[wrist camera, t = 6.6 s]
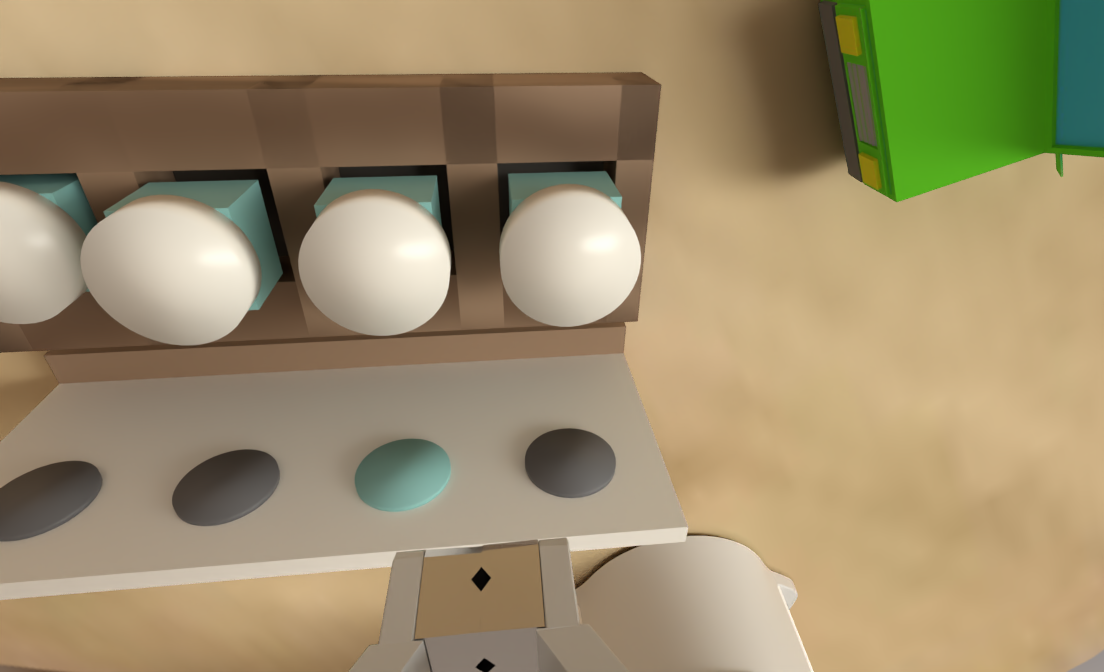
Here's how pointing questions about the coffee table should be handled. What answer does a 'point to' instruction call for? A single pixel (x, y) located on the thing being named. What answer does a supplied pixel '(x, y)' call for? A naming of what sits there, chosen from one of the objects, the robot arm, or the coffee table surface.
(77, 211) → the button
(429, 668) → the robot arm
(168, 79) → the walnut button board
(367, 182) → the button
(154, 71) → the coffee table surface
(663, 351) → the coffee table surface
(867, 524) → the coffee table surface
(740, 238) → the coffee table surface
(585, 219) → the button
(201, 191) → the button
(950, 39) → the toy car
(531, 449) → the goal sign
